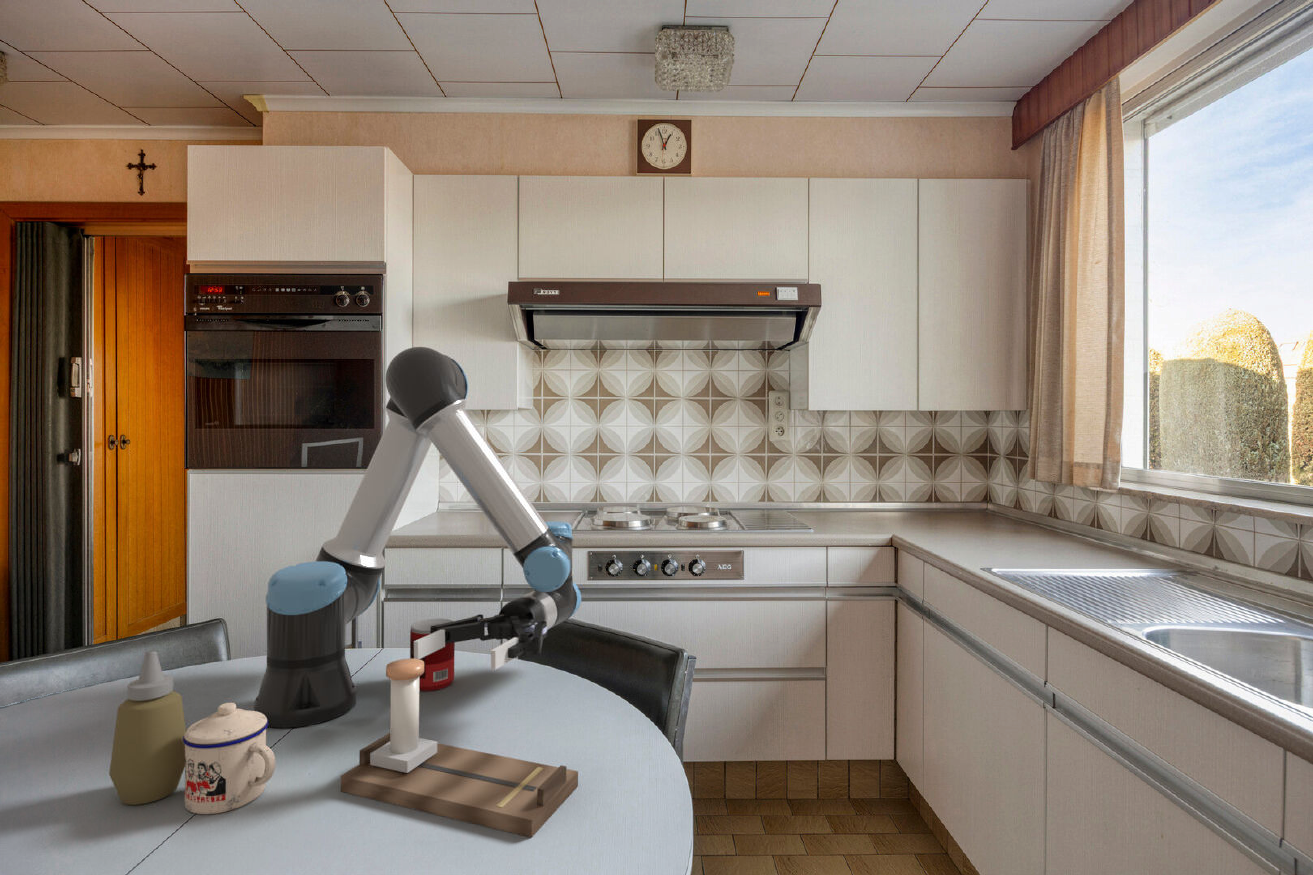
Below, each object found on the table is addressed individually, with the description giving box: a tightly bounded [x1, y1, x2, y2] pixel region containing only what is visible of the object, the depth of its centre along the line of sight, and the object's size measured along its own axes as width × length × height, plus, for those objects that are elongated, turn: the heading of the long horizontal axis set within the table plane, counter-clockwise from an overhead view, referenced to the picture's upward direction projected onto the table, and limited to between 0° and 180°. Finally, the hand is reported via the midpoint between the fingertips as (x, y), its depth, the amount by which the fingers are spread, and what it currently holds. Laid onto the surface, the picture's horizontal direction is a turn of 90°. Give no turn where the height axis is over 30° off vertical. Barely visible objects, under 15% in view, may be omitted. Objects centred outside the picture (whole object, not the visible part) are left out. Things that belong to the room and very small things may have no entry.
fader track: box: [340, 732, 579, 838], centre depth 88 cm, size 28×12×4 cm, turn 71°
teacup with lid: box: [183, 702, 277, 815], centre depth 85 cm, size 12×9×12 cm
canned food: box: [409, 618, 456, 692], centre depth 124 cm, size 8×8×11 cm
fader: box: [370, 658, 438, 773], centre depth 91 cm, size 6×6×13 cm
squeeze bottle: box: [108, 650, 186, 806], centre depth 86 cm, size 8×8×18 cm
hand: (453, 655), depth 100 cm, fingers open, 13 cm apart
